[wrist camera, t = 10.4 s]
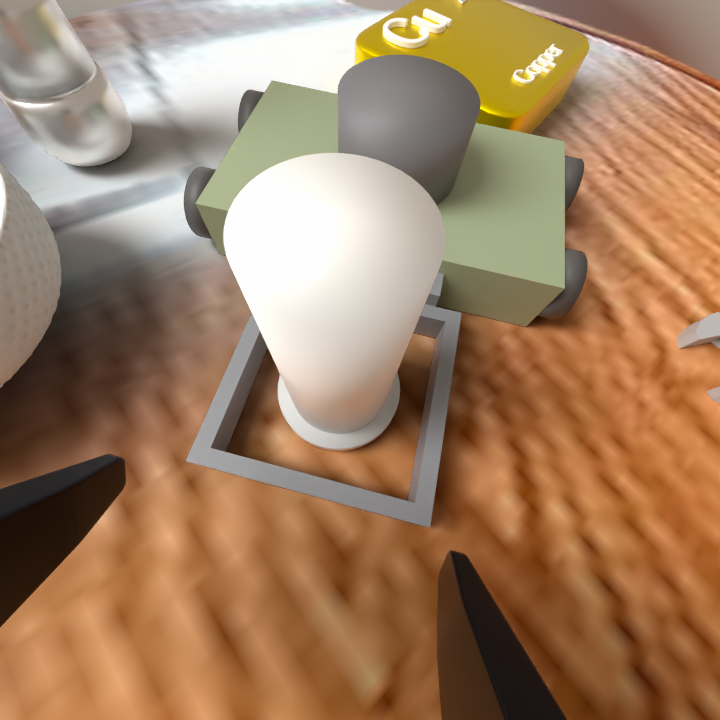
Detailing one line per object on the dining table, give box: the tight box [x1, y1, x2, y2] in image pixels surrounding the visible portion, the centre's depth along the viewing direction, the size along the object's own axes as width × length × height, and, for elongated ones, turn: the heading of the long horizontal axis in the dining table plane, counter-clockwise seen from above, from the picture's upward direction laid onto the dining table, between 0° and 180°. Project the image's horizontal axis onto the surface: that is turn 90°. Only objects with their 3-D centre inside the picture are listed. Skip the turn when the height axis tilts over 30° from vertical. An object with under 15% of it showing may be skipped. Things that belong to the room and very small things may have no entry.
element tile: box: [355, 0, 589, 134], centre depth 29 cm, size 15×15×5 cm
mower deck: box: [184, 55, 587, 528], centre depth 18 cm, size 24×22×8 cm
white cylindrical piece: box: [223, 153, 446, 452], centre depth 13 cm, size 6×6×12 cm
